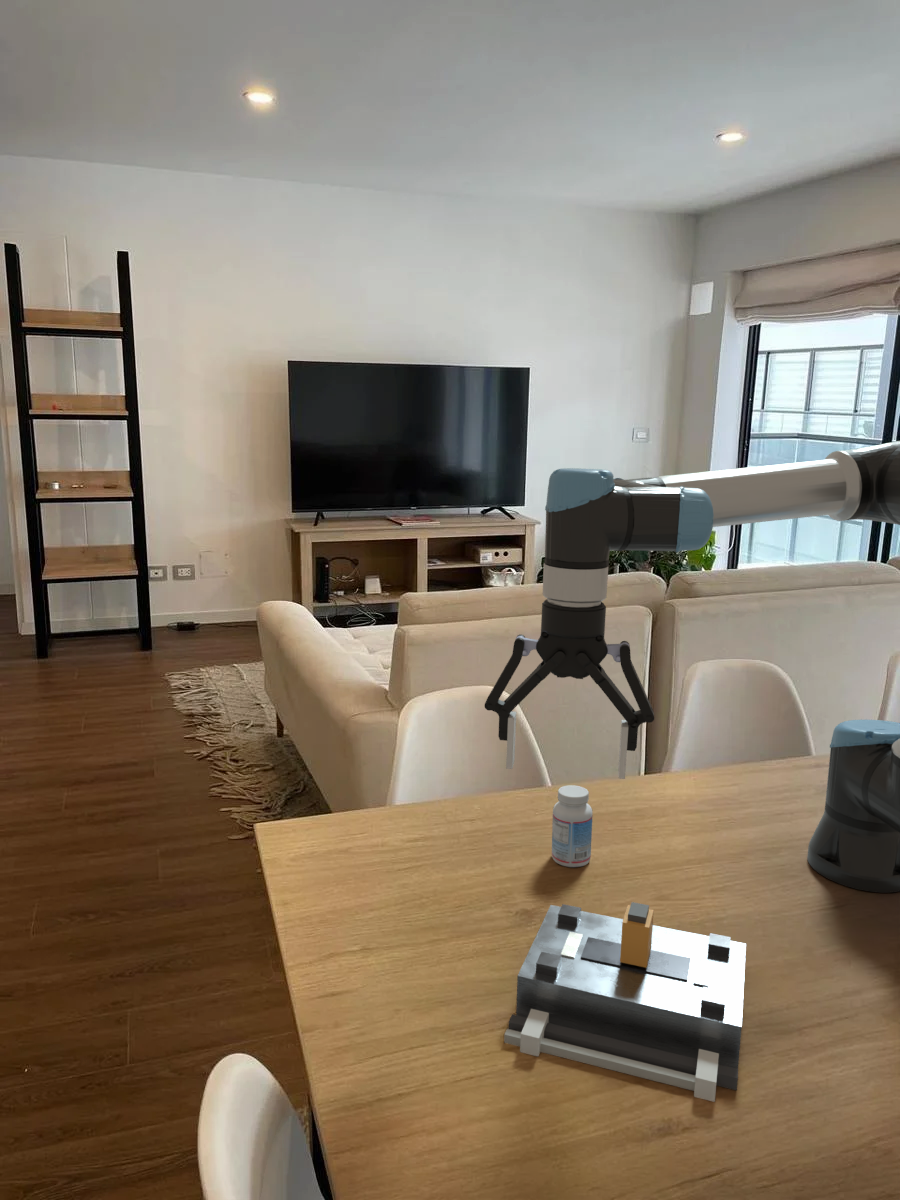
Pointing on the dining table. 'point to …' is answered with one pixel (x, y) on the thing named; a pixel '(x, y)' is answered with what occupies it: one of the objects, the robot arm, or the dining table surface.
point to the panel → (636, 985)
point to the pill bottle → (572, 827)
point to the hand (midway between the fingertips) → (565, 770)
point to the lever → (637, 935)
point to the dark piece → (621, 1055)
